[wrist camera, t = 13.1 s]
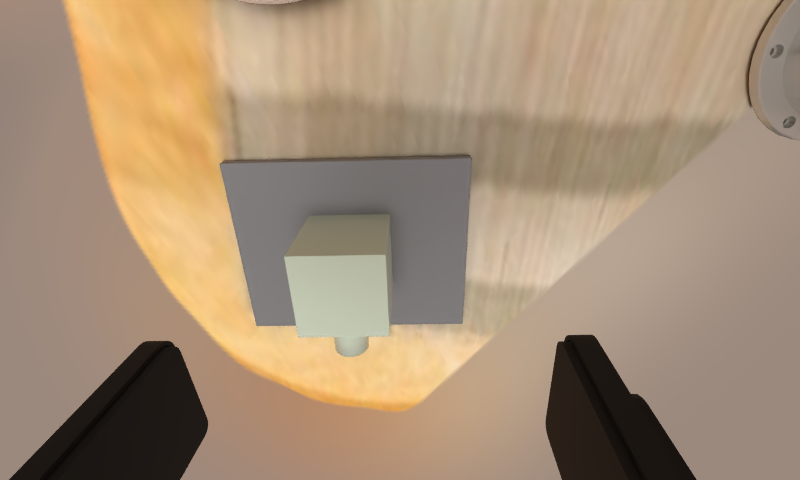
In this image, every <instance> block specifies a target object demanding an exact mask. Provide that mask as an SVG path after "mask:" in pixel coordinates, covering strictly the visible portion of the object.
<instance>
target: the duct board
mask: <svg viewBox="0 0 800 480" xmlns="http://www.w3.org/2000/svg"><path fill="white" fill-rule="evenodd" d="M471 161H472V158H471V157H470V155H468V156H421V157H375V158H328V159H281V160H234V161H223V162H222V163H220V168H221V172H222V177H223V181H224V185H225V190H226V194H227V198H228V203H229V207H230V212H231V216H232V220H233V225H234V229H235V233H236V238H237V242H238V247H239V251H240V255H241V260H242V264H243V268H244V273H245V277H246V281H247V286H248V290H249V295H250V299H251V303H252V308H253V312H254V316H255V321H256V325H257V326H296V321H295V316H294V310H293V304H292V299H291V293H290V288H289V282H288V276H287V271H286V265H285V259H284V256H285V254H286V253H287V251H288V249H289V248H290V246H291V244H292V243H293V241H294V240H295V238H296V236H297V235H298V233H299V231H300V230H301V228H302V227H303V225H304V223H305V222H306V220H307V219H308V217H309V216H315V215H363V214H390V230H391V253H392V277H393V288H392V304H391V321H390V325H391V324H462V323H463V305H464V287H465V269H466V251H467V233H468V215H469V197H470V179H471Z"/></svg>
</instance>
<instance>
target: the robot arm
mask: <svg viewBox="0 0 800 480" xmlns="http://www.w3.org/2000/svg"><path fill="white" fill-rule="evenodd" d="M749 94H750V99H751V104H752V107H753V109H754V111H755V113H756V115H757V117H758V119H759V120H760V121H761V122H762V123H763V124H764V125H765V126H766V127H767V128H768V129H770V130H771V131H773V132H775V133H776V134H778V135H780V136H784V137H787V138H790V139H795V140H800V0H784V1H783V2H782V3H781V5H780V6H779V7H778V9H777V10H776V12H775V13H774V14H773V16H772V17H771V18H770V20H769V22H768V24H767V26H766V27H765V29H764V31H763V33H762V35H761V37H760V39H759V41H758V44H757V47H756V49H755V52H754V55H753V58H752V63H751V68H750V72H749ZM207 429H208V420H207V417H206V414H205V412H204V410H203V407H202V404H201V402H200V399H199V397H198V394H197V392H196V390H195V387H194V384H193V382H192V380H191V377H190V374H189V372H188V369H187V367H186V364H185V362H184V359H183V357H182V355H181V352H180V350H179V348H177V347H175V346H174V344H173V343H172V342H170V341H146V342H143V343H142V344H141V345H139V346H138V347H137V348H136V349H135V350H134V351H133V352H132V354H130V356H129V357H128V358H127V359H126V360H125V361H124V362H123V363H122V364H121V365H120V366H119V367H118V368H117V369H116V370H115V371H114V372H113V373H112V374H111V375H110V376H109V377H108V378H107V379H106V380H105V381H104V382H103V383H102V385H100V386H99V388H98V389H97V390H96V391H95V392H94V393H93V394H92V395H91V396H90V397H89V398H88V399H87V400H86V401H85V402H84V403H83V404H82V405H81V406H80V407H79V408H78V409H77V410H76V411H75V412H74V413H73V414H72V415H71V416H70V417H69V418H68V419H67V421H66V422H65V423H64V424H63V425H62V426H61V427H60V428H59V429H58V430H57V431H56V432H55V433H54V434H53V435H52V436H51V437H50V438H49V439H48V440H47V441H46V442H45V443H44V444H43V445H42V446H41V448H39V449H38V451H36V452H35V454H34V455H33V456H32V457H31V458H30V459H29V460H28V461H27V462H26V463H25V464H24V465H23V466H22V467H21V468H20V469H19V470H18V471H17V472H16V473H15V474H14V475H13V476H12V477H11V478H10V479H9V480H180V479H181V477H182V475H183V474H184V472H185V470H186V468H187V467H188V465H189V463H190V461H191V459H192V458H193V456H194V454H195V453H196V450H197V449H198V447H199V446H200V444H201V442H202V440H203V438H204V437H205V435H206V432H207ZM546 431H547V435H548V439H549V442H550V445H551V448H552V451H553V453H554V457H555V460H556V463H557V466H558V469H559V472H560V475H561V478H562V480H696V478H695V477H694V475H693V474H692V472H691V470H690V469H689V467H688V466H687V464H686V463H685V461H684V460H683V458H682V457H681V455H680V454H679V452H678V450H677V449H676V447H675V446H674V444H673V443H672V441H671V440H670V438H669V437H668V435H667V433H666V432H665V430H664V429H663V427H662V426H661V424H660V423H659V421H658V419H657V418H656V416H655V415H654V413H653V412H652V410H651V409H650V407H649V406H648V404H647V403H646V402H645V400H644V399H643V398H642V397H640V396H639V395H638V394H630V392H629V391H628V389H627V387H626V386H625V384H624V383H623V381H622V379H621V378H620V376H619V374H618V373H617V371H616V369H615V368H614V366H613V365H612V363H611V361H610V360H609V358H608V356H607V355H606V353H605V352H604V350H603V348H602V347H601V346H600V344H599V342H598V340H597V339H596V338H595V336H593V335H568V336H566V338H565V341H564V342H558V344H557V349H556V356H555V362H554V368H553V375H552V382H551V388H550V396H549V402H548V408H547V415H546Z"/></svg>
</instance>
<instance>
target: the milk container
mask: <svg viewBox="0 0 800 480" xmlns="http://www.w3.org/2000/svg"><path fill="white" fill-rule="evenodd" d="M238 1H242V2H248V3H255V4H285V3H292V2H297V1H301V0H238Z"/></svg>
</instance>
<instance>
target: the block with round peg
mask: <svg viewBox="0 0 800 480" xmlns="http://www.w3.org/2000/svg"><path fill="white" fill-rule="evenodd" d="M284 259H285V265H286V271H287V276H288V282H289V288H290V293H291V299H292V304H293V310H294V316H295V321H296V327H297V332H298V337H334V340H335V348H336V351H337V352H338V353H339V354H340V355H342V356H346V357H354V356H358V355H360V354H362V353H364V352H365V351H366V350H367V348H368V346H369V340H368V337H369V336H390V321H391V304H392V288H393V277H392V253H391V230H390V214H363V215H315V216H309V217H308V219H307V220H306V222H305V223H304V225H303V227H302V228H301V230H300V231H299V233H298V235H297V236H296V238H295V240H294V241H293V243H292V244H291V246H290V248H289V249H288V251H287V253H286V254H285V256H284Z"/></svg>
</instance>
